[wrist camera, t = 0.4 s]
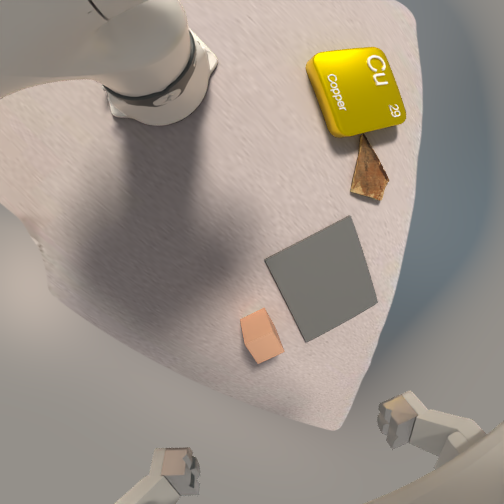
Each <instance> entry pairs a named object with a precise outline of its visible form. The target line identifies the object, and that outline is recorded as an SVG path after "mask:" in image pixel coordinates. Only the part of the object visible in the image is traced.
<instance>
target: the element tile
mask: <svg viewBox="0 0 504 504" xmlns="http://www.w3.org/2000/svg"><path fill="white" fill-rule="evenodd" d="M306 71H307V74H308V76H309V79H310V81H311V84H312V86H313V89H314V92H315V94H316V97H317V100H318V102H319V105H320V108H321V111H322V114H323V116H324V119H325V122H326V125H327V128H328V130H329V132H330V133H331V134H332V135H333V136H335V137H338V138H341V137H349V136H354V135H358V134H361V133H365V132H369V131H373V130H378V129H382V128H386V127H390V126H395V125H399V124H402V123H403V122H404V121H405V119H406V111H405V107H404V104H403V101H402V98H401V95H400V92H399V89H398V86H397V84H396V81H395V78H394V75H393V73H392V70H391V68H390V65H389V62H388V60H387V58H386V56H385V54H384V53H383V51H382V50H380V49H379V48H376V47H364V48H352V49H342V50H334V51H326V52H320V53H317V54H316V55H314V56H313V57H312V58H311V59H310V60H309V61H308V62H307V64H306Z"/></svg>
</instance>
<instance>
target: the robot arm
mask: <svg viewBox="0 0 504 504" xmlns="http://www.w3.org/2000/svg"><path fill="white" fill-rule="evenodd" d="M217 63H218V60H217V57H216V56H215V55H214V53H213V52H212V51H211V50H210V49H209V48H208V47H207V46H206V45H205V44H204V43H203V42H202V41H201V40H200V39H199V37H198V36H197V35H196V34H195V33H194V32H193V31H192V30H191V29H190V28H189V27H188V23H187V17H186V13H185V10H184V8H183V6H182V5H181V3H180V2H179V1H178V0H0V99H1V98H3V97H5V96H7V95H10V94H12V93H15V92H17V91H20V90H23V89H26V88H29V87H33V86H37V85H41V84H46V83H52V82H58V81H67V80H81V79H88V80H94V81H96V82H99V83H101V84H102V88H103V90H104V91H107V96H108V101H109V105H110V109H111V113H112V114H113V115H114V116H115V117H118V118H133V119H135V120H137V121H139V122H141V123H144V124H148V125H154V126H161V125H168V124H172V123H175V122H178V121H180V120H182V119H184V118H185V117H187V116H188V115H190V114H191V113H192V112H193V111H194V110H195V109H196V108H197V107H198V106H199V104H200V103H201V101H202V100H203V98H204V96H205V94H206V91H207V87H208V81H209V77H210V74H211V73H212V72H213V70H214V69H215V67H216V66H217ZM379 411H380V413H379V415H378V417H377V422H378V427H379V429H380V431H381V433H382V434H385V435H387V439H386V440H387V442H388V444H389V445H390V447H391V448H392V450H393V449H395V448H397V447H400V446H402V445H404V444H406V443H408V442H409V443H410V444H412V445H414V446H416V447H418V448H421V449H423V450H425V451H427V452H430V453H432V454H434V455H436V456H439V458H438V460H437V462H436V464H435V466H434V468H435V470H434V471H432V472H430V473H428V474H427V475H425V476H423V477H421V478H419V479H417V480H416V481H414V482H411V483H410V484H408V485H406V486H403V487H401V488H399V489H398V490H395V491H393V492H391V493H388V494H386V495H384V496H381V497H379V498H376V499H374V500H372V501H369V502H367V503H364V504H504V421H503V422H502V423H501V424H499V425H498V426H497V427H496V428H494V429H493V430H492V431H491V432H489V433H488V434H486V433H485V432H484V431H483V430H482V429H481V428H480V427H479V426H478V425H477V424H476V423H475V422H474V420H472V419H468V418H464V417H460V416H455V415H451V414H447V413H443V412H440V411H436V410H432V409H431V410H428V409H427V408H426V407H425V406H424V405H423V404H422V402H421V401H420V400H419V399H418V398H417V397H416V396H415V394H414V393H412V391H407V392H405V393H403V394H401V395H398V396H396V397H393V398H391V399H389V400H386V401H384V402H382V403H380V404H379ZM192 454H193V452H192V450H191V448H190V447H187V448H156V449H155V450H154V454H153V458H152V462H151V468H150V472H149V476H145V477H144V478H143V479H141V480H140V481H139V482H138V483H137V484H136V485H135V486H134V487H133V488H132V489H130V490H129V491H128V492H127V493H126V494H125V495H124V496H123V497H121V498H120V499H119V500H118V501H117V502H115V503H114V504H176V502H177V501H178V500H179V498H180V496H191V495H199V489H200V483H199V482H198V480H197V479H198V477H199V476H200V466H199V463H198V460H197V458H196V457H194V456H192Z"/></svg>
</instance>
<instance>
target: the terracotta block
mask: <svg viewBox="0 0 504 504" xmlns="http://www.w3.org/2000/svg"><path fill="white" fill-rule="evenodd" d="M240 322H241V327H242V332H243V338H244V343H245V345H246V347H247V348H248V350H249V351H250V353H251V354H252V356H253V357H254V359H255V360H256V362H257V363H258V364H259V363H261V362H264V361H266V360H268V359H270V358H272V357H275V356H277V355H279V354H281V353H283V352H285V351H284V349H283V346H282V344H281V341H280V338H279V336H278V333H277V330H276V328H275V326H274V324H273V322H272V320H271V319H270V317H269V315H268V313H267V311H266V310H265V308H262V309H260V310H258V311H256V312H254V313H252V314H250V315H248V316H246V317H244V318H242V319H240Z"/></svg>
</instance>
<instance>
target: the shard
mask: <svg viewBox="0 0 504 504" xmlns="http://www.w3.org/2000/svg"><path fill="white" fill-rule="evenodd" d="M388 182H389V179H388V176H387V174H386V172H385V170H384V169H383V166H382V164H381V163H380V160H379V158H378V157H377V155H376V153H375V152H374V150H373V149H372V147H371V146H370V144H369V142H368V141H367V138H366V137H365V135H364V133H363V134H362V136H360V143H359V155H358V158H357V165H356V169H355V174H354V176H353V183H352V186H351V191H350V192H353V193H357V194H360V195H364V196H367V197H371V198H373V199H376V200H379V201H380V200H382V198H383V194H384V190H385V187H386V185H387V183H388Z"/></svg>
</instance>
